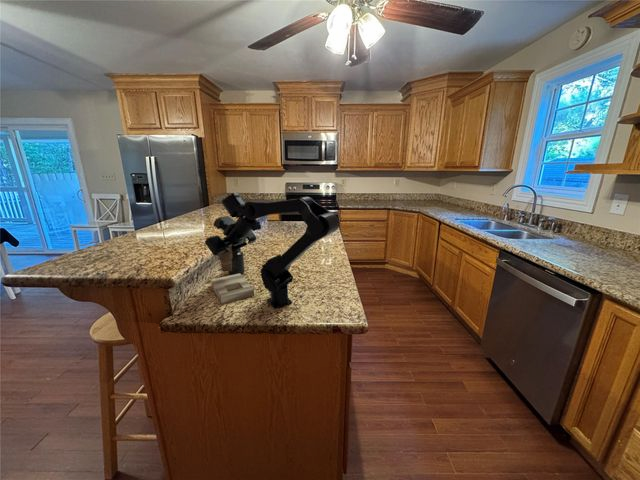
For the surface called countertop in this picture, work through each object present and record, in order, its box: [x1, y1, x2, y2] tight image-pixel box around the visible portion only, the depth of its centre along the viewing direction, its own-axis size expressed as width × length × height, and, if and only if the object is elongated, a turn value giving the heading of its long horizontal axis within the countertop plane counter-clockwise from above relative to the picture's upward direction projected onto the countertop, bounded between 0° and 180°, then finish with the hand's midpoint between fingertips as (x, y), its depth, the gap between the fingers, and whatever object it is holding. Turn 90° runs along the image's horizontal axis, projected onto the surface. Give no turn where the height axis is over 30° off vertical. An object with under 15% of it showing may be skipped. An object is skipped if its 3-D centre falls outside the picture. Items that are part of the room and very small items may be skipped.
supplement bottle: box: [227, 247, 246, 276], centre depth 105 cm, size 7×7×12 cm
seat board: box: [210, 273, 255, 305], centre depth 91 cm, size 16×11×2 cm
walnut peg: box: [218, 237, 233, 273], centre depth 92 cm, size 5×5×12 cm
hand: (222, 253), depth 93 cm, fingers closed on walnut peg, 5 cm apart
